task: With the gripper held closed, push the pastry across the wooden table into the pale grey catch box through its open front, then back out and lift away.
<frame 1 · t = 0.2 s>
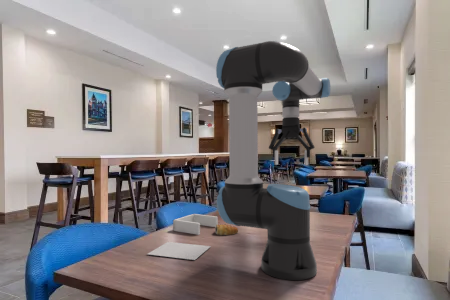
hand: (291, 164, 131), 28 cm above the table, tool pointing down, fingers open, 13 cm apart
pastry: (225, 234, 120), on the table
paper stack: (197, 249, 101), on the table
catch box: (195, 228, 127), on the table
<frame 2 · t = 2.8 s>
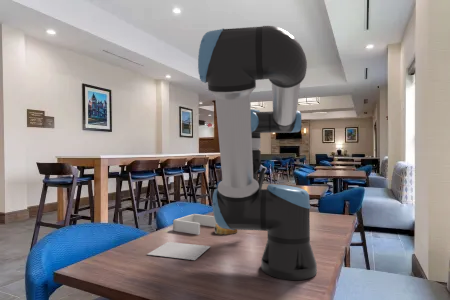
hand: (251, 209, 115), 11 cm above the table, tool pointing down, fingers closed
nothing on the table moved.
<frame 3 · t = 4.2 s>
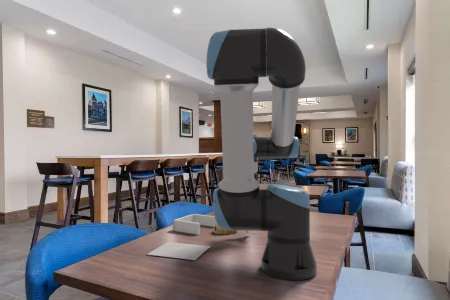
hand: (248, 232, 115), 1 cm above the table, tool pointing down, fingers closed
nothing on the table moved.
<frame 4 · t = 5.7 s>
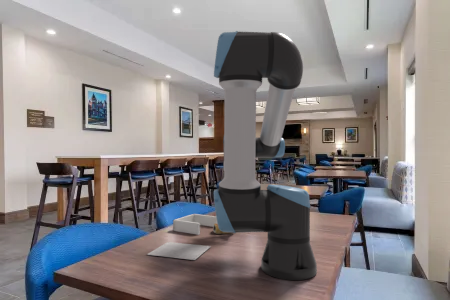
hand: (232, 230, 118), 2 cm above the table, tool pointing down, fingers closed
pastry: (222, 232, 121), on the table, touching gripper
everything else where it was.
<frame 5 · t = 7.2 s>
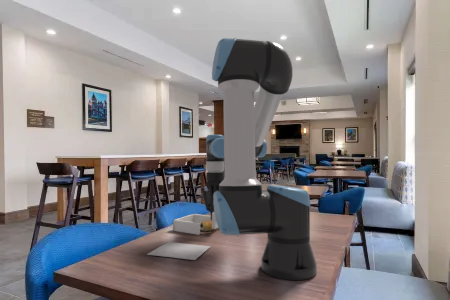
hand: (215, 228, 122), 1 cm above the table, tool pointing down, fingers closed
pastry: (209, 230, 126), on the table, touching gripper
everything else where it was.
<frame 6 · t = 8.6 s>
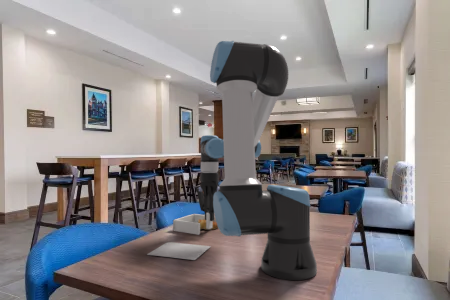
hand: (209, 228, 123), 1 cm above the table, tool pointing down, fingers closed
pastry: (206, 228, 128), on the table, touching catch box, gripper
everything else where it was.
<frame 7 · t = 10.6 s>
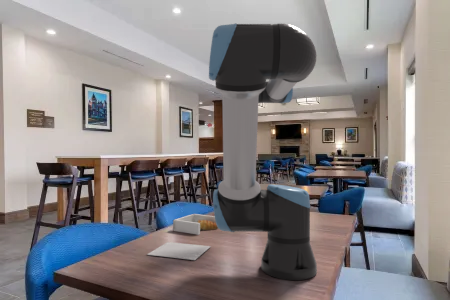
hand: (238, 184, 112), 21 cm above the table, tool pointing down, fingers closed
pastry: (205, 229, 128), on the table
everything else where it was.
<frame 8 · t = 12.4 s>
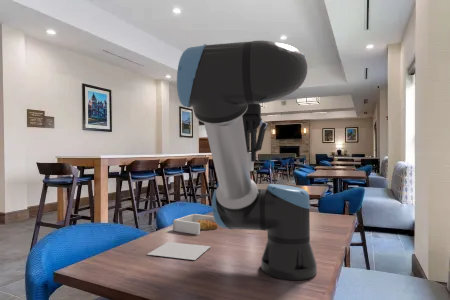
hand: (250, 170, 103), 26 cm above the table, tool pointing down, fingers closed
nothing on the table moved.
at the end: pastry inside the target area (4.5 cm from its centre), on the table; pastry tilted 0° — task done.
